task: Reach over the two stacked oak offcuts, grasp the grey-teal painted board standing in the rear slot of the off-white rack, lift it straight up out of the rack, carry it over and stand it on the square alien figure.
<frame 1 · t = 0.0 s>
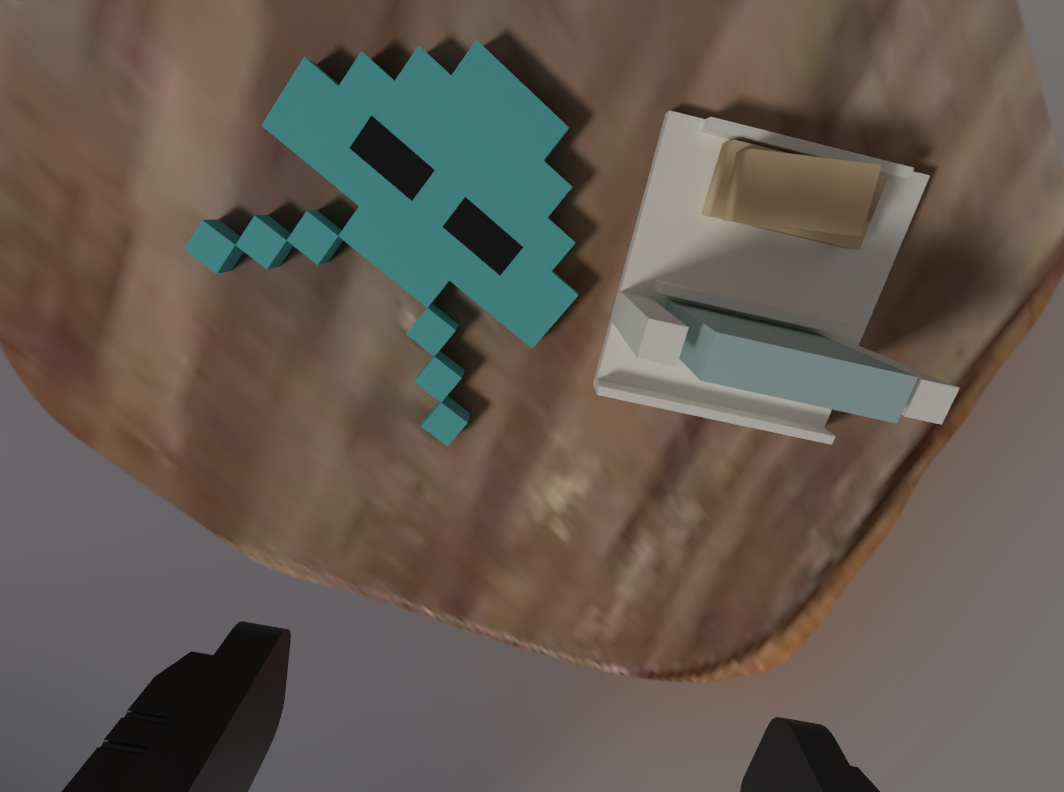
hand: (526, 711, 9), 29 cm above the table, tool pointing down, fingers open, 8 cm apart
offcut top: (790, 194, 31), point 3 cm above the table, touching offcut low
alien figure: (423, 227, 35), on the table
offcut low: (783, 197, 33), point 1 cm above the table, touching offcut top, rack
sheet: (736, 333, 36), point 1 cm above the table, touching rack
rack: (746, 285, 36), on the table
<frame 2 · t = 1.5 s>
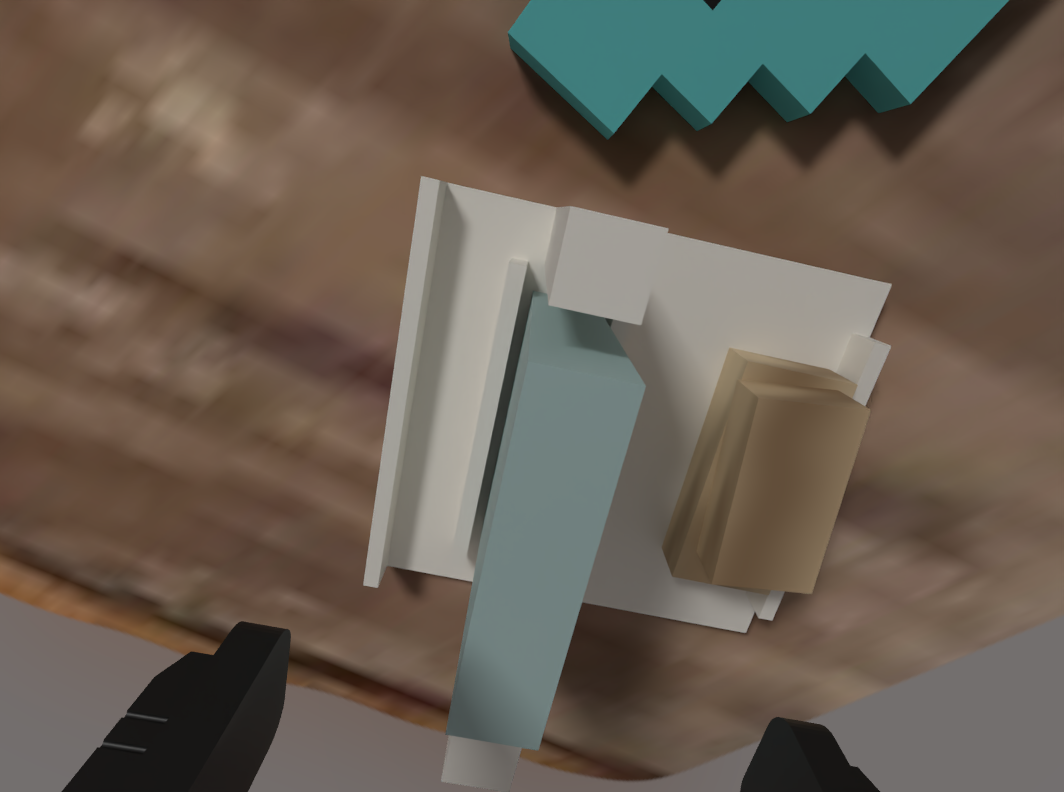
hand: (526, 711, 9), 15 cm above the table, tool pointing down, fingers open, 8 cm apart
offcut top: (763, 474, 20), point 3 cm above the table, touching offcut low
offcut low: (740, 463, 23), point 1 cm above the table, touching offcut top, rack
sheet: (535, 421, 22), point 1 cm above the table, touching rack
rack: (606, 427, 23), on the table
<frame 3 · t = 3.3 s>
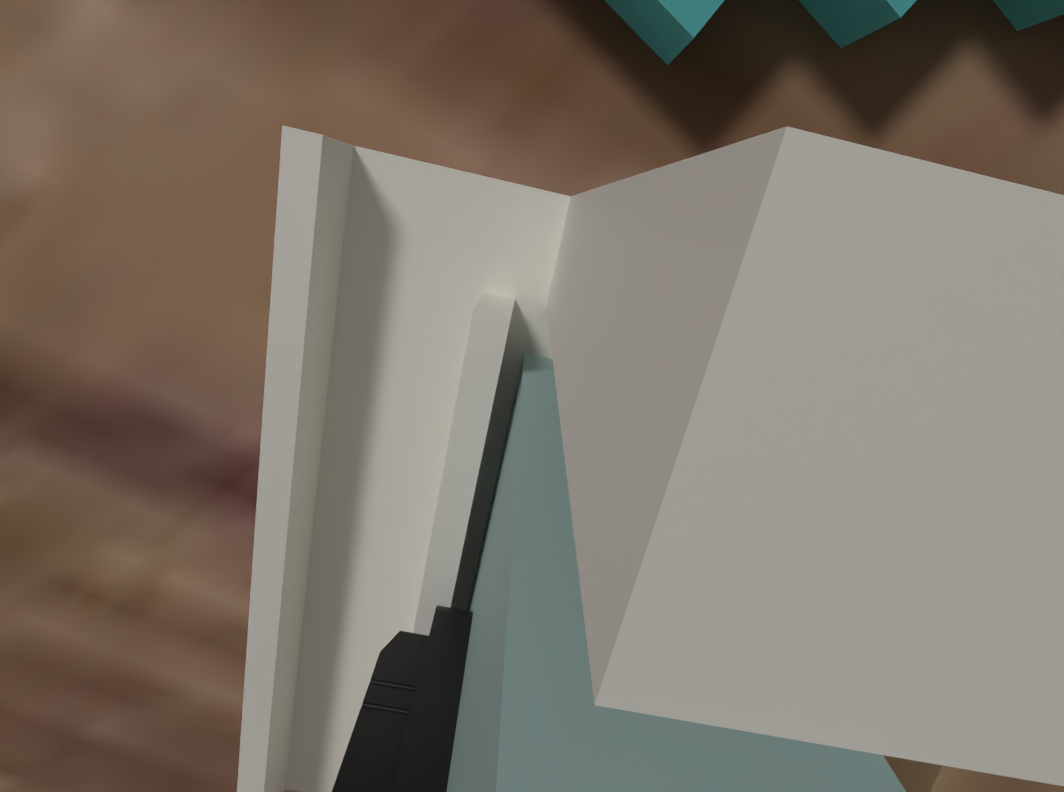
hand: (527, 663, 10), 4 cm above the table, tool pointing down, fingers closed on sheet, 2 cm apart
offcut top: (952, 694, 11), point 3 cm above the table, touching offcut low
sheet: (529, 574, 13), point 1 cm above the table, touching gripper, rack
rack: (649, 571, 14), on the table
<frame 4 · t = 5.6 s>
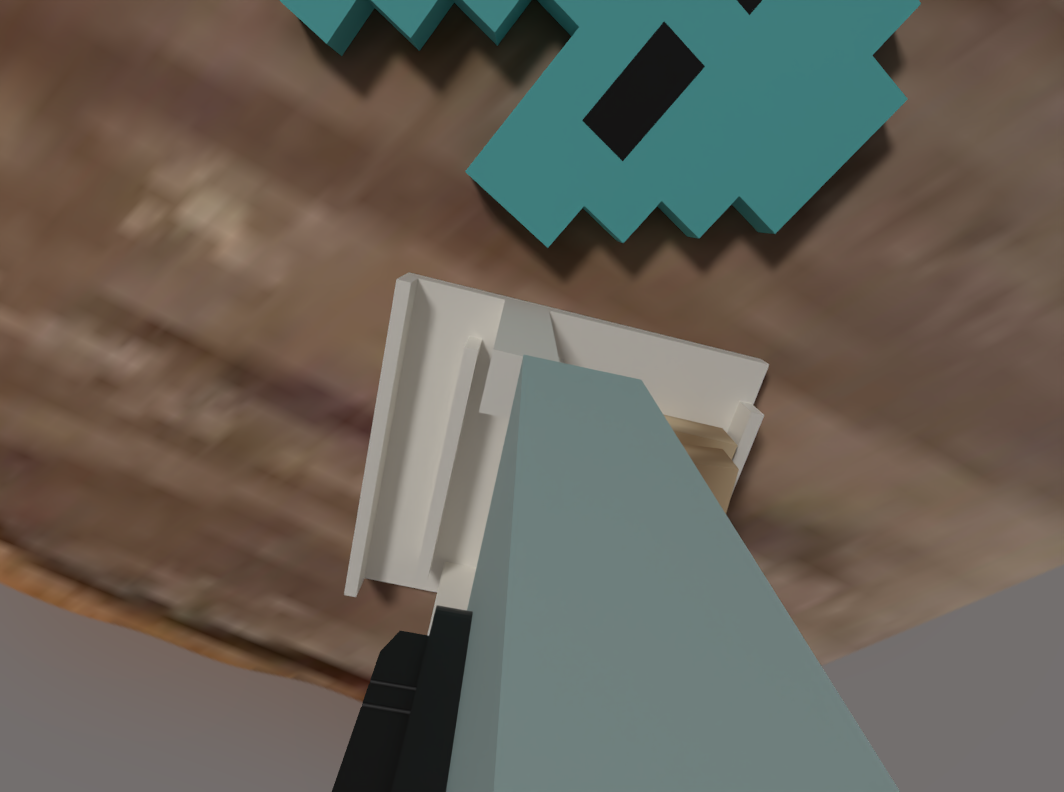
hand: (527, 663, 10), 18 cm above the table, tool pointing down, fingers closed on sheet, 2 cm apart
offcut top: (666, 512, 26), point 3 cm above the table, touching offcut low
offcut low: (653, 500, 28), point 1 cm above the table, touching offcut top, rack
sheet: (529, 575, 13), point 15 cm above the table, touching gripper
rack: (546, 468, 28), on the table
when the fingers open (6 cm above the table, at t = 8.2 s): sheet stays where it is, resting on alien figure.
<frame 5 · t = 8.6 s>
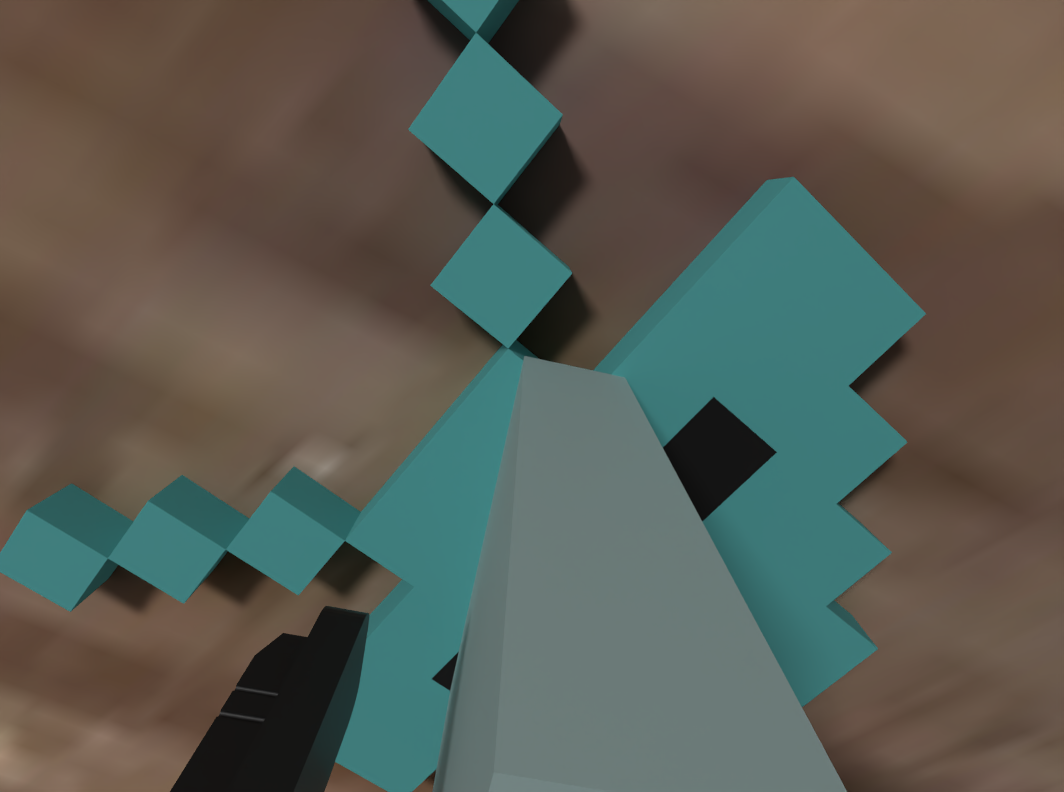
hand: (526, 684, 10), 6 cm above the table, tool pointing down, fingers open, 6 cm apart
alien figure: (527, 482, 17), on the table, touching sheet
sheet: (529, 547, 14), point 1 cm above the table, touching alien figure
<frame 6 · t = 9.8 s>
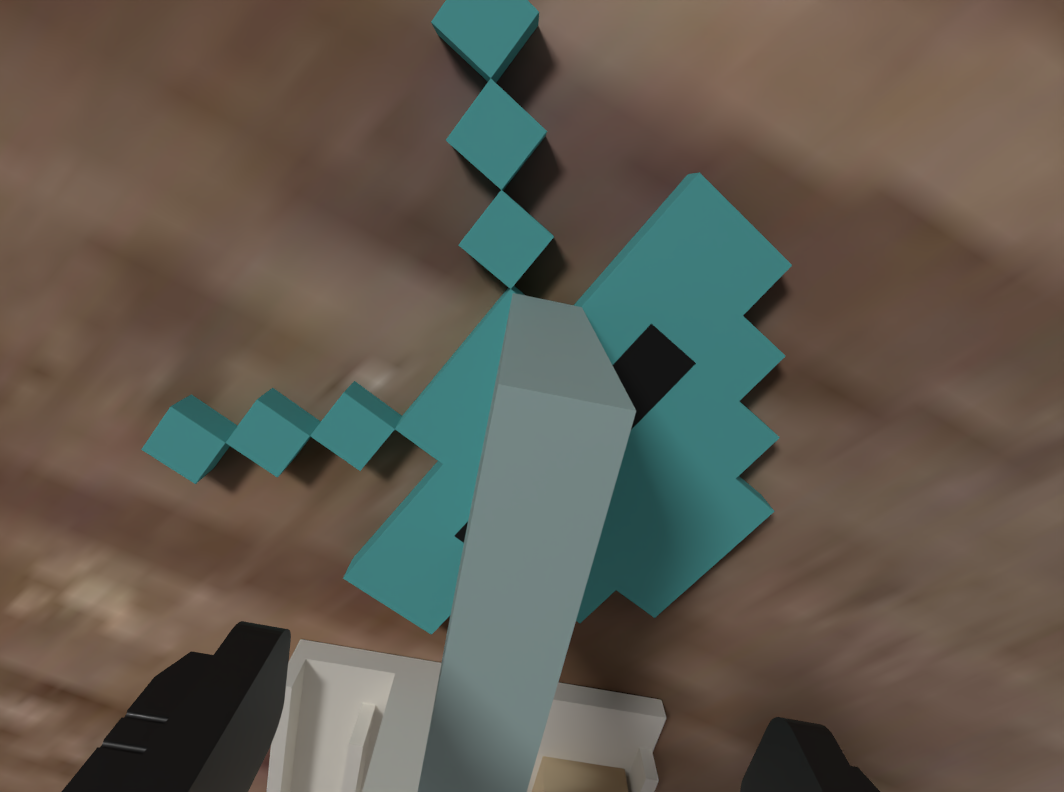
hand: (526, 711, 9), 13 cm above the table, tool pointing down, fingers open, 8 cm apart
alien figure: (523, 396, 23), on the table, touching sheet
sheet: (518, 433, 20), point 1 cm above the table, touching alien figure
rack: (455, 790, 28), on the table
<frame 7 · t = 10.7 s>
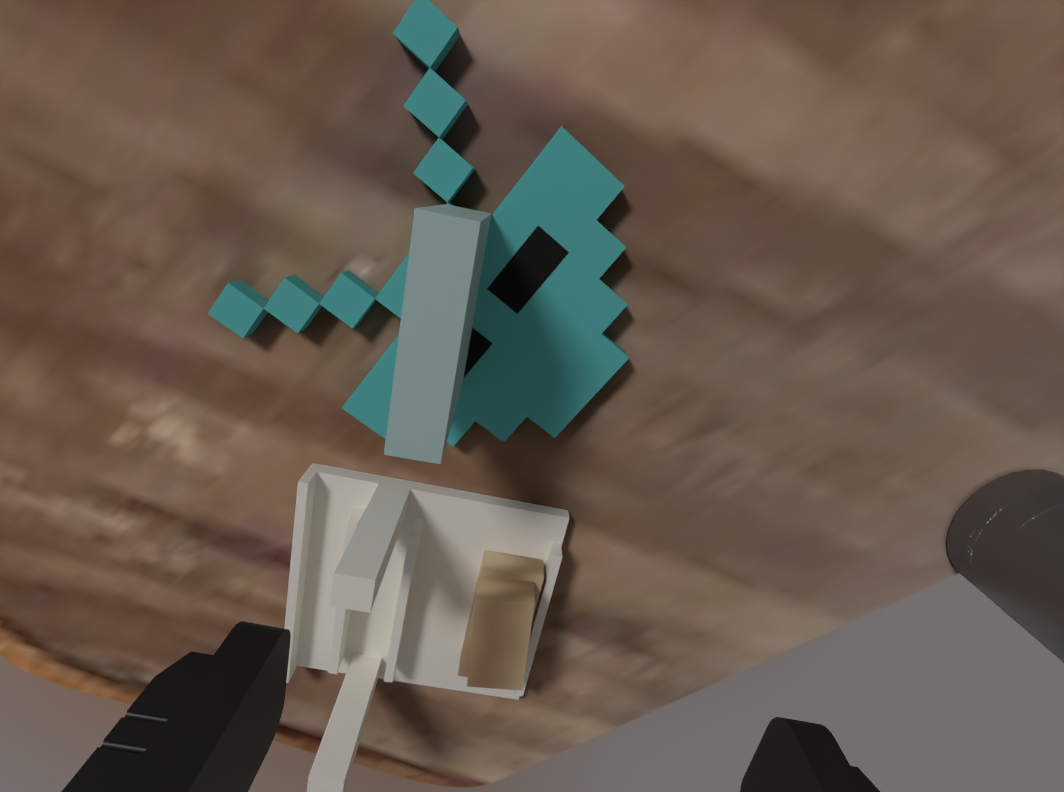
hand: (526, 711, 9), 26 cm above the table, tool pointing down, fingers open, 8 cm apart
offcut top: (500, 623, 37), point 3 cm above the table, touching offcut low
alien figure: (462, 284, 33), on the table, touching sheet
offcut low: (500, 608, 39), point 1 cm above the table, touching offcut top, rack
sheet: (454, 301, 31), point 1 cm above the table, touching alien figure
rack: (424, 585, 39), on the table
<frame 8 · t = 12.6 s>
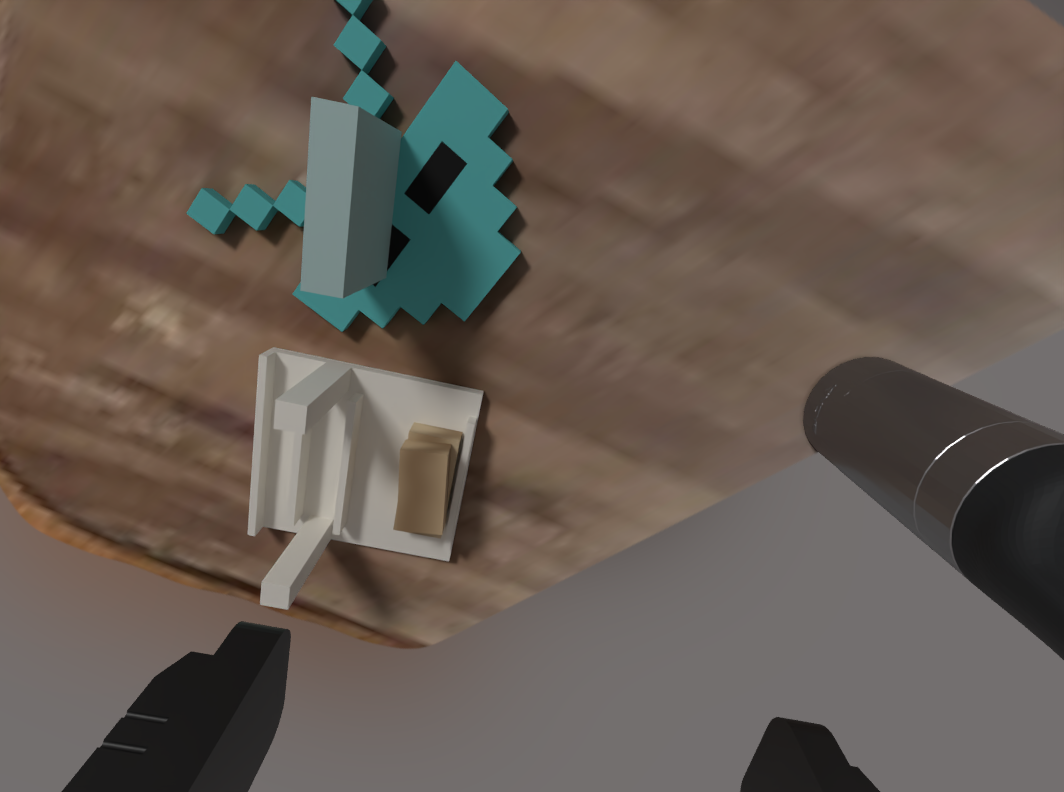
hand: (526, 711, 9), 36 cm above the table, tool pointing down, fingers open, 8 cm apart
offcut top: (426, 481, 45), point 3 cm above the table, touching offcut low
alien figure: (390, 196, 42), on the table, touching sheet
offcut low: (429, 475, 47), point 1 cm above the table, touching offcut top, rack
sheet: (376, 204, 39), point 1 cm above the table, touching alien figure
rack: (367, 457, 47), on the table
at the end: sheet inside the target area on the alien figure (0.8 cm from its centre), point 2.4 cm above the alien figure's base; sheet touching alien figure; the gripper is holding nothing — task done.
